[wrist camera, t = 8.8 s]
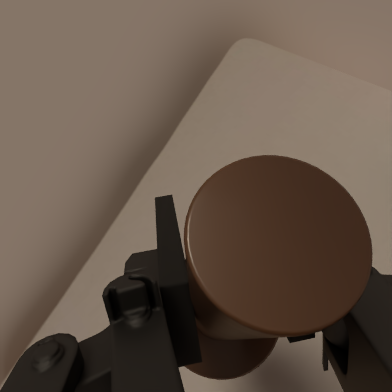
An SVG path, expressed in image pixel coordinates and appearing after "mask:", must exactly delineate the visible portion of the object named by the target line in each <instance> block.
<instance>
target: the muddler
mask: <svg viewBox="0 0 392 392" xmlns="http://www.w3.org/2000/svg"><path fill="white" fill-rule="evenodd" d="M184 245H185V254H186V259H185V263H186V268H187V273H188V283H189V292H190V297H191V301H192V304H193V308H194V314H195V320H196V326H197V332H198V338H199V344H200V350H201V356H202V362H200V363H195V364H191V365H186V366H185V367H186V368H187V369H189V370H190V371H192V372H194V373H196V374H198V375H200V376H203V377H207V378H211V379H217V380H226V379H233V378H237V377H240V376H243V375H246V374H248V373H250V372H251V371H253V370H254V369H256V368H257V367H259V366H260V365H261V364H262V363H263V362H264V361H265V360H266V359H267V357H268V356H269V355H270V353H271V352H272V350H273V348H274V347H275V344H276V342H277V340H278V338H279V337H296V336H303V335H309V334H312V333H316V332H319V331H322V330H324V329H326V328H328V327H330V326H332V325H334V324H335V323H337V322H338V321H340V320H341V319H343V318H344V317H345V316H346V315H347V314H348V313H349V312H350V311H351V310H352V309H353V308H354V306H355V305H356V304H357V302H358V301H359V300H360V298H361V296H362V294H363V292H364V291H365V288H366V286H367V283H368V280H369V277H370V272H371V266H372V243H371V238H370V233H369V229H368V226H367V224H366V221H365V218H364V216H363V214H362V212H361V210H360V208H359V207H358V205H357V204H356V202H355V201H354V199H353V198H352V197H351V195H350V194H349V193H348V192H347V191H346V189H345V188H344V187H343V186H341V185H340V184H339V183H338V182H337V181H336V180H335V179H334V178H332V177H331V176H330V175H328V174H327V173H325V172H324V171H322V170H320V169H319V168H317V167H315V166H313V165H311V164H308V163H306V162H303V161H300V160H297V159H293V158H289V157H284V156H276V155H262V156H253V157H249V158H244V159H241V160H238V161H235V162H233V163H231V164H229V165H227V166H225V167H223V168H222V169H220V170H219V171H217V172H216V173H214V174H213V175H212V176H211V177H210V178H209V179H207V180H206V182H205V183H204V184H203V185H202V186H201V187H200V189H199V190H198V192H197V193H196V195H195V196H194V198H193V200H192V202H191V205H190V207H189V210H188V213H187V216H186V221H185V228H184Z"/></svg>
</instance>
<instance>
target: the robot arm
mask: <svg viewBox="0 0 392 392" xmlns="http://www.w3.org/2000/svg"><path fill="white" fill-rule="evenodd" d="M155 208H156V230H157V249H155V250H150V251H144V252H139V253H134V254H132V255H131V256H130V257H129V259H128V260H127V261H126V263H125V270H124V275H123V276H120V277H118V278H116V279H115V280H113V281H112V282H110V283H109V284H108V285H107V287H106V288H105V289H104V292H103V295H102V297H103V301H104V304H105V308H106V311H107V314H108V318H109V321H110V325H109V326H108V327H107V328H106V329H104V330H103V331H102V332H100V333H98V334H96V335H94V336H92V337H90V338H88V339H85V340H83V341H81V342H79V343H78V342H77V340H76V338H75V337H74V336H72V335H70V334H63V333H58V334H55V335H51V336H47V337H45V338H43V339H41V340H39V341H37V342H36V343H35V344H33V345H32V346H31V347H30V348H28V349H27V350H26V351H25V352H24V354H23V355H22V356H21V357H20V359H19V360H18V362H17V363H16V365H15V367H14V368H13V370H12V372H11V373H10V375H9V377H8V378H7V380H6V382H5V384H4V385H3V387H2V389H1V390H0V392H185V391H184V387H183V384H182V380H181V376H180V372H179V368H178V367H182V366H186V365H191V364H195V363H200V362H202V356H201V350H200V344H199V338H198V332H197V326H196V320H195V314H194V308H193V304H192V301H191V297H190V292H189V283H188V273H187V268H186V263H185V258H184V253H183V248H182V243H181V238H180V233H179V228H178V223H177V218H176V213H175V208H174V202H173V197H172V195H167V196H162V197H156V198H155ZM322 332H323V357H322V364H323V369H324V371H326V370H328V360H329V361H330V363H331V365H332V368H333V370H334V372H335V374H336V376H337V378H338V380H339V382H340V384H341V386H342V389H343V391H344V392H392V275H382V274H380V273H379V272H378V271H377V270H376V269H375V268H374V267H372V266H371V272H370V277H369V280H368V283H367V286H366V288H365V291H364V292H363V294H362V296H361V298H360V300H359V301H358V302H357V304H356V305H355V306H354V308H353V309H352V310H351V311H350V312H349V313H348V314H347V315H346V316H345V317H344V318H343V319H341V320H340V321H338V322H337V323H335V324H334V325H332V326H330V327H328V328H326V329H324V330H322ZM287 338H288V340H289V342H290V343H292V342H297V341H302V340H306V339H311V338H315V333H312V334H309V335H303V336H296V337H287Z"/></svg>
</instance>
